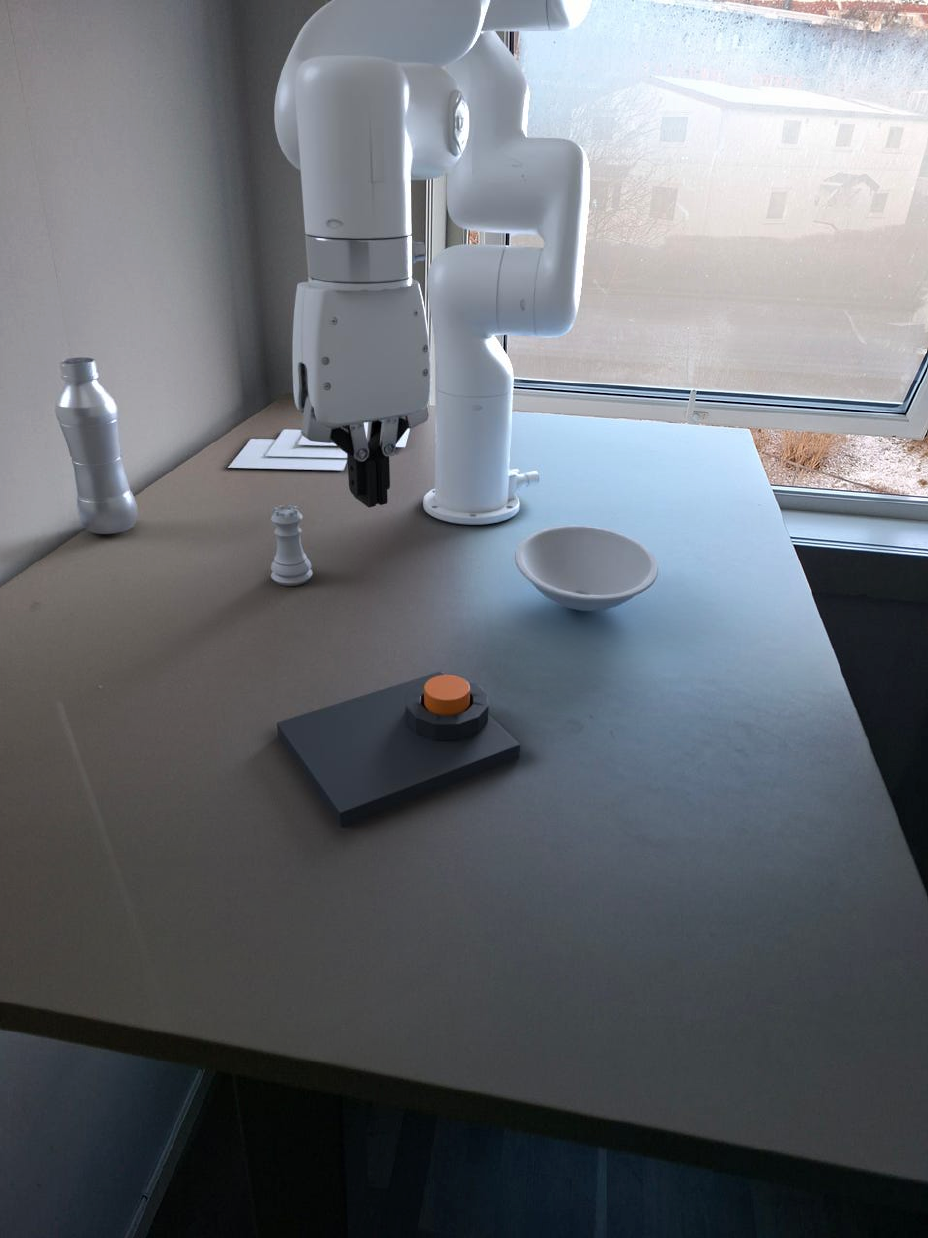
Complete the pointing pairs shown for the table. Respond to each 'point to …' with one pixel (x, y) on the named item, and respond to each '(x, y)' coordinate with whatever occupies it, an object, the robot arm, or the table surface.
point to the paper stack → (295, 453)
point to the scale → (392, 748)
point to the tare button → (446, 695)
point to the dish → (586, 566)
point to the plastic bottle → (94, 449)
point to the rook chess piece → (289, 549)
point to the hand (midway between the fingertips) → (370, 500)
